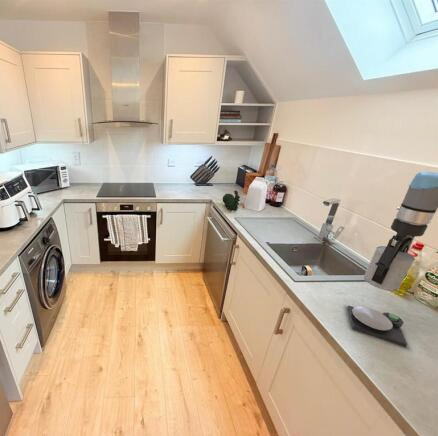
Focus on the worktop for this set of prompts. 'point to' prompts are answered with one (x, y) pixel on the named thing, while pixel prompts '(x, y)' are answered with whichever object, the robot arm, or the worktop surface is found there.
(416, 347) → the worktop surface
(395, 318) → the tare button
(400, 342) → the scale
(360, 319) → the pan
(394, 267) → the silver metal canister
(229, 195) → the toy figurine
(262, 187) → the milk
